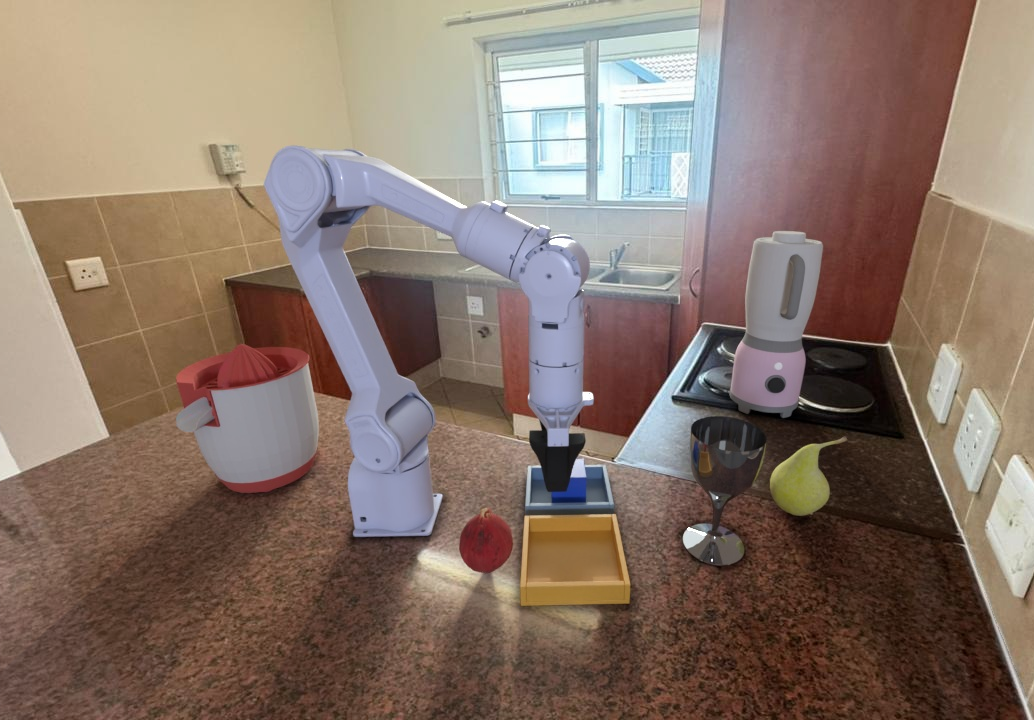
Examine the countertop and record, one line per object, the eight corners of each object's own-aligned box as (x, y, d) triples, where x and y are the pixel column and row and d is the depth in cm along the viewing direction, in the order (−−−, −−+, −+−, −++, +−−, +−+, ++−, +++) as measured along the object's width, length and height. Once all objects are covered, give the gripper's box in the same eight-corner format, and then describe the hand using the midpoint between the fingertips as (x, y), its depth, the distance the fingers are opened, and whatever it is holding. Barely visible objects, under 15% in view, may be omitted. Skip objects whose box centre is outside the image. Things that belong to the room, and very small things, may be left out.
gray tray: (525, 522, 63) (525, 506, 62) (527, 480, 72) (527, 465, 71) (613, 521, 64) (614, 504, 63) (605, 479, 72) (606, 464, 71)
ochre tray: (520, 606, 51) (519, 587, 50) (524, 532, 62) (524, 515, 61) (629, 603, 51) (630, 584, 51) (615, 530, 62) (616, 513, 61)
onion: (504, 594, 53) (501, 532, 50) (453, 585, 54) (447, 524, 51) (519, 555, 58) (517, 497, 55) (472, 548, 59) (468, 491, 56)
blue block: (551, 507, 65) (551, 478, 64) (551, 486, 70) (551, 458, 68) (585, 506, 66) (586, 477, 64) (583, 486, 70) (584, 458, 68)
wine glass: (748, 529, 62) (765, 422, 57) (748, 575, 55) (768, 457, 50) (682, 516, 65) (693, 411, 59) (675, 558, 57) (687, 444, 52)
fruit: (770, 488, 70) (784, 411, 66) (830, 505, 67) (848, 425, 62) (762, 514, 65) (776, 433, 61) (826, 534, 61) (846, 449, 57)
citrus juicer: (169, 496, 68) (123, 359, 61) (278, 437, 84) (252, 322, 76) (249, 524, 63) (210, 378, 56) (351, 456, 78) (330, 334, 71)
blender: (724, 388, 102) (745, 228, 91) (787, 393, 100) (816, 229, 89) (737, 425, 88) (763, 238, 76) (810, 430, 86) (849, 240, 74)
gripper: (602, 385, 45) (597, 509, 50) (588, 335, 59) (585, 437, 64) (524, 386, 45) (527, 510, 50) (528, 336, 59) (530, 437, 63)
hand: (555, 469), depth 57 cm, fingers open, 7 cm apart
